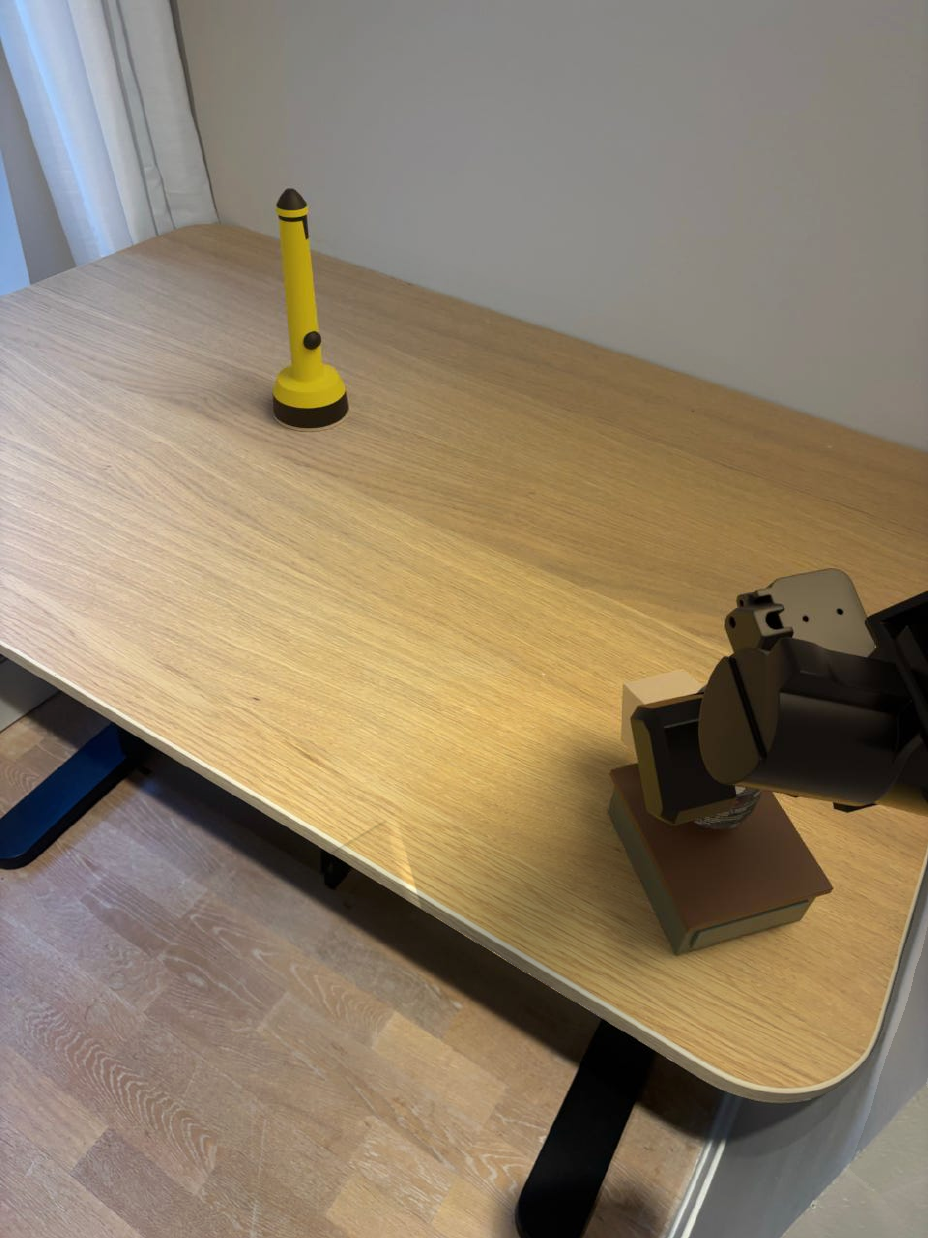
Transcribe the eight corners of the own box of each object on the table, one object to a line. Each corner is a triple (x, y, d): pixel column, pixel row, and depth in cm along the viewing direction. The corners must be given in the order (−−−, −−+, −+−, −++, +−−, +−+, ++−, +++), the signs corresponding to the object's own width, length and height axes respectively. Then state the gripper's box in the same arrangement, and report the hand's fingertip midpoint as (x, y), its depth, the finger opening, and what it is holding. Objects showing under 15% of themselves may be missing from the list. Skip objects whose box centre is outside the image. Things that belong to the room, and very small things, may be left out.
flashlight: (228, 182, 87) (270, 211, 82) (307, 168, 91) (352, 194, 86) (259, 405, 104) (296, 439, 99) (325, 384, 108) (363, 416, 103)
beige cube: (716, 760, 62) (722, 702, 60) (654, 777, 61) (658, 718, 59) (678, 724, 67) (682, 668, 64) (620, 739, 65) (622, 682, 63)
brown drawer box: (809, 924, 60) (834, 888, 56) (672, 963, 57) (689, 928, 54) (722, 778, 68) (739, 739, 65) (599, 807, 66) (610, 768, 62)
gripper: (1027, 543, 43) (826, 568, 58) (684, 611, 38) (564, 619, 54) (1066, 766, 43) (855, 733, 58) (729, 858, 39) (597, 797, 54)
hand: (722, 717), depth 56 cm, fingers closed on pill bottle, 6 cm apart
